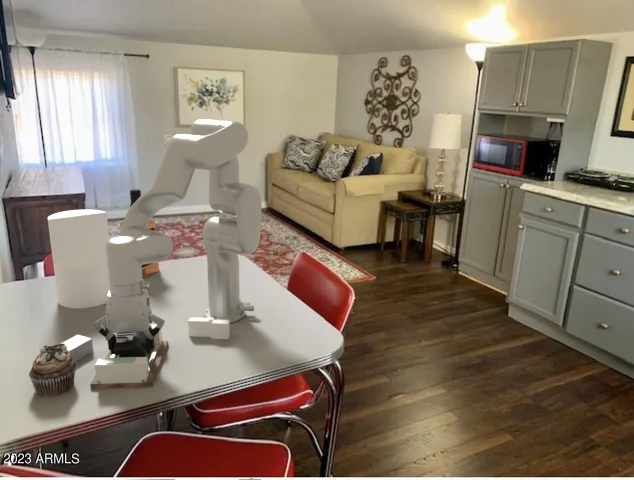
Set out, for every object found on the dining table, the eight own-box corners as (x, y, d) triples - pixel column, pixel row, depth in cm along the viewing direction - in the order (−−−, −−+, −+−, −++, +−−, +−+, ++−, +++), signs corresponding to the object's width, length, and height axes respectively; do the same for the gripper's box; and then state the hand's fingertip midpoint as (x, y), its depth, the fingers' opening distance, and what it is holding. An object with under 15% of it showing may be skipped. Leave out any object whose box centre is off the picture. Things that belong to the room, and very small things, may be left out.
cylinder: (51, 295, 162) (41, 213, 154) (105, 283, 173) (97, 207, 165) (67, 313, 150) (56, 225, 142) (123, 299, 161) (116, 217, 153)
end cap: (146, 369, 120) (145, 344, 118) (115, 372, 118) (113, 347, 116) (148, 349, 129) (146, 325, 127) (119, 351, 127) (117, 328, 125)
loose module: (93, 352, 129) (91, 338, 128) (68, 366, 122) (66, 352, 121) (79, 347, 131) (77, 334, 130) (53, 362, 124) (51, 348, 123)
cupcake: (30, 382, 115) (24, 344, 112) (75, 371, 120) (71, 335, 117) (32, 404, 107) (26, 364, 104) (81, 391, 112) (76, 353, 109)
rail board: (168, 344, 134) (167, 340, 134) (152, 386, 115) (152, 382, 115) (115, 345, 132) (114, 341, 132) (90, 388, 113) (90, 384, 113)
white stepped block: (177, 337, 139) (176, 319, 137) (207, 323, 148) (207, 306, 146) (213, 354, 131) (212, 335, 129) (243, 339, 139) (243, 321, 138)
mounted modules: (162, 340, 133) (161, 323, 132) (145, 382, 114) (144, 362, 113) (120, 341, 132) (119, 324, 131) (97, 383, 113) (94, 364, 112)
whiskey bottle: (160, 270, 188) (155, 188, 179) (144, 278, 179) (138, 193, 170) (137, 266, 191) (131, 186, 182) (120, 275, 182) (113, 190, 173)
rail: (161, 340, 133) (161, 338, 133) (145, 382, 114) (145, 379, 114) (121, 341, 132) (120, 339, 132) (97, 383, 113) (97, 380, 113)
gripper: (166, 281, 122) (170, 343, 127) (93, 281, 120) (100, 344, 125) (160, 293, 115) (164, 358, 120) (83, 294, 113) (91, 360, 118)
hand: (132, 351), depth 123 cm, fingers open, 8 cm apart
